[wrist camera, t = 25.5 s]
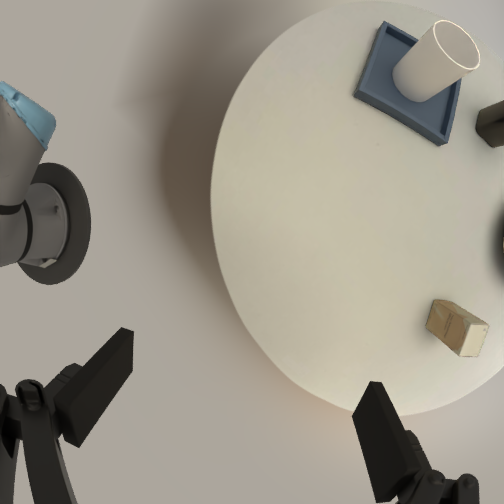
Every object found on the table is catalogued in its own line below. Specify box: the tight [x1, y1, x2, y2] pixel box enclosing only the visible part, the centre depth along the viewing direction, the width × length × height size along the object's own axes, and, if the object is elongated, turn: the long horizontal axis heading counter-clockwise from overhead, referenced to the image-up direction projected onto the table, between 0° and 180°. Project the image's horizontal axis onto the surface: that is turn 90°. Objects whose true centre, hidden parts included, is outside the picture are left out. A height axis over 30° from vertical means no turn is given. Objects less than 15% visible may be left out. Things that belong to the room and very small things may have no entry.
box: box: [426, 300, 489, 357], centre depth 36 cm, size 5×4×11 cm
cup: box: [392, 20, 480, 102], centre depth 29 cm, size 7×7×14 cm
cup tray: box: [354, 21, 462, 146], centre depth 35 cm, size 16×16×3 cm
